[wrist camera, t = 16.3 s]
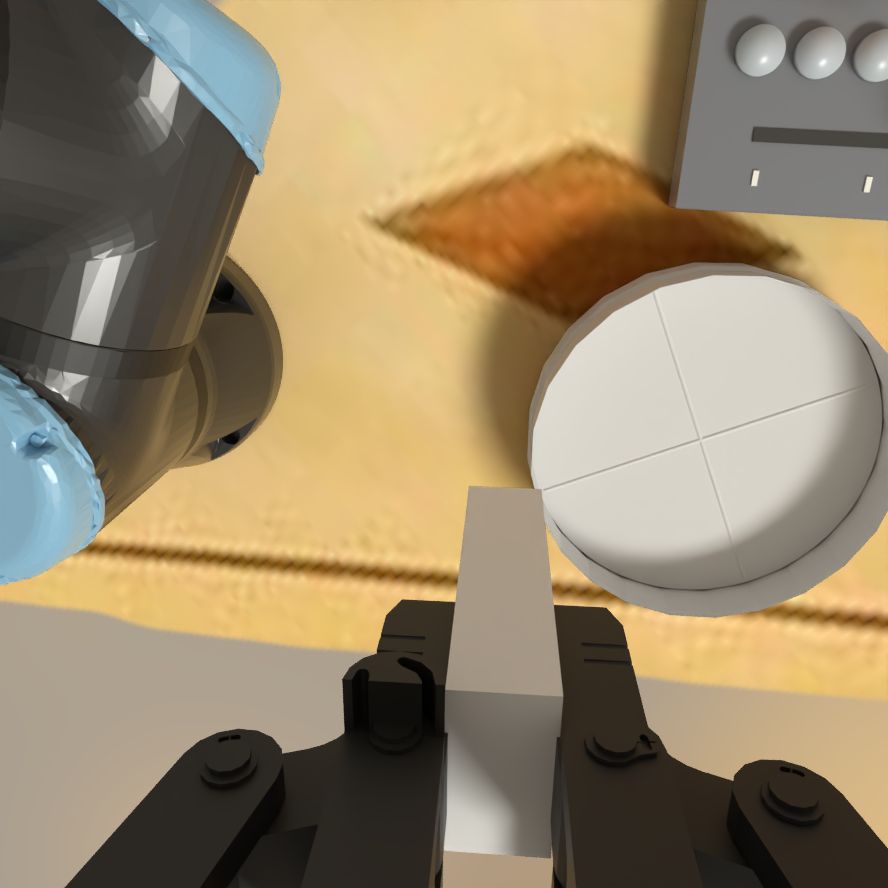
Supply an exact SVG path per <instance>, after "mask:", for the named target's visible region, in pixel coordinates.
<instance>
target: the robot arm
mask: <svg viewBox="0 0 888 888" xmlns="http://www.w3.org/2000/svg"><path fill="white" fill-rule="evenodd" d="M280 92H281V82H280V79H279V75H278V71H277V68H276V65H275V63H274V61H273V59H272V58H271V56H270V55H269V53H268V52H267V50H266V49H265V48H264V47H263V46H262V45H261V43H260V42H259V41H258V40H257V39H255V38H254V37H253V36H252V35H251V34H250V33H249V32H247V31H246V30H245V29H244V28H242V27H241V26H240V25H238V24H237V23H236V22H235V21H233V20H232V19H231V18H229V17H228V16H227V15H226V14H224V13H223V12H222V11H220V10H219V9H218V8H216V7H215V6H214V5H212V4H211V3H209V2H208V1H207V0H0V585H4V584H8V583H10V582H17V581H20V580H23V579H24V580H25V579H30V578H32V577H35V576H37V575H39V574H41V573H43V572H45V571H47V570H48V569H50V568H52V567H53V566H55V565H56V564H58V563H60V562H61V561H63V560H64V559H66V558H68V557H69V556H71V555H73V554H76V553H78V552H79V551H80V550H81V549H84V548H85V547H86V546H88V544H89V543H91V542H92V541H93V540H94V538H95V536H96V535H97V533H98V532H99V531H101V530H102V529H103V528H104V527H105V526H106V525H107V524H108V523H110V522H111V521H112V520H113V519H114V518H115V517H116V516H118V515H119V514H120V513H121V512H122V511H123V510H124V509H126V508H127V507H128V506H129V505H130V504H131V503H132V502H133V501H135V500H136V499H137V498H138V497H139V496H140V495H141V494H143V493H144V492H145V491H146V490H147V489H148V488H149V487H151V486H152V485H153V484H154V483H155V482H156V481H157V480H158V479H160V478H161V477H162V476H163V475H164V474H165V473H166V472H168V471H169V470H170V469H175V468H182V467H189V466H195V465H199V464H203V463H207V462H210V461H212V460H215V459H217V458H219V457H222V456H223V455H225V454H227V453H229V452H231V451H232V450H234V449H235V448H236V447H238V446H239V445H240V444H242V443H243V442H244V441H245V440H246V439H247V438H248V437H249V436H250V435H251V434H252V433H253V432H254V431H255V430H256V429H257V428H258V427H259V426H260V425H261V424H262V422H263V421H264V420H265V418H266V417H267V415H268V414H269V412H270V410H271V409H272V407H273V405H274V402H275V400H276V397H277V395H278V392H279V388H280V384H281V378H282V370H283V353H282V344H281V339H280V334H279V330H278V327H277V324H276V321H275V318H274V316H273V313H272V311H271V309H270V307H269V305H268V303H267V301H266V300H265V298H264V296H263V295H262V293H261V292H260V290H259V289H258V287H257V286H256V285H255V284H254V282H253V281H252V280H251V279H250V278H249V277H248V275H247V274H246V273H245V272H244V271H243V270H242V269H240V268H239V267H238V266H237V265H236V264H235V263H234V262H232V261H231V260H230V259H228V258H227V257H226V254H227V252H228V249H229V246H230V243H231V240H232V238H233V235H234V232H235V229H236V226H237V224H238V221H239V218H240V215H241V212H242V210H243V207H244V204H245V201H246V198H247V196H248V193H249V190H250V187H251V184H252V182H253V179H254V176H255V175H259V176H260V175H261V174H262V172H263V169H264V158H263V153H264V149H265V146H266V143H267V140H268V137H269V133H270V130H271V127H272V124H273V121H274V117H275V114H276V111H277V108H278V105H279V100H280ZM342 682H343V703H344V726H345V732H344V734H342V735H341V736H340V737H338V738H337V739H335V740H333V741H330V742H328V743H326V744H324V745H321V746H317V747H313V748H310V749H305V750H300V751H294V752H289V753H284V754H282V749H281V748H280V747H279V745H278V744H277V743H276V741H275V740H274V739H273V738H272V737H270V736H268V735H266V734H264V733H261V732H259V731H256V730H245V729H235V730H230V731H224V732H219V733H216V734H214V735H212V736H209V737H207V738H205V739H203V740H200V741H199V742H198V743H196V744H195V745H194V746H193V747H191V748H190V749H189V750H188V751H187V752H185V753H184V754H183V755H182V756H181V758H180V759H179V760H178V761H177V762H176V763H175V764H174V765H173V767H172V768H171V769H170V770H169V771H168V772H167V773H166V774H165V776H164V777H163V778H162V779H161V780H160V781H159V782H158V783H157V784H156V786H155V787H154V788H153V789H152V790H151V791H150V792H149V793H148V795H147V796H146V797H145V798H144V799H143V800H142V801H141V802H140V804H139V805H138V806H137V807H136V808H135V809H134V810H133V812H132V813H131V814H130V815H129V816H128V817H127V818H126V819H125V821H124V822H123V823H122V824H121V825H120V826H119V827H118V828H117V829H116V831H115V832H114V833H113V834H112V835H111V836H110V837H109V838H108V840H107V841H106V842H105V843H104V844H103V845H102V846H101V847H100V849H99V850H98V851H97V852H96V853H95V855H93V856H92V857H91V859H90V860H89V861H88V862H87V863H86V864H85V865H84V866H83V868H82V869H81V870H80V871H79V872H78V873H77V874H76V876H75V877H74V878H73V879H72V880H71V881H70V882H69V883H68V884H67V886H66V887H65V888H442V887H443V851H457V852H471V853H485V854H499V855H513V856H526V857H540V858H551V848H552V852H553V873H552V887H551V888H888V848H887V847H886V846H885V845H884V844H883V842H882V841H881V840H880V839H879V837H877V835H876V834H875V833H874V831H873V830H872V829H871V828H870V827H869V825H867V823H866V822H865V821H864V819H863V818H862V817H861V816H860V815H859V814H858V812H857V811H856V810H855V809H854V807H853V806H852V805H851V804H850V803H849V802H848V800H847V799H846V798H845V797H844V795H843V794H842V793H840V791H838V790H837V789H836V788H835V787H834V786H833V785H832V784H831V783H829V781H827V780H826V779H825V778H823V777H822V776H820V775H818V774H816V773H814V772H812V771H811V770H809V769H807V768H805V767H802V766H799V765H796V764H792V763H789V762H786V761H782V760H758V761H755V762H752V763H748V764H745V765H744V766H743V767H742V768H741V769H740V770H739V771H738V772H737V773H736V774H735V775H734V781H731V780H728V779H725V778H721V777H718V776H715V775H712V774H709V773H705V772H702V771H699V770H697V769H694V768H692V767H689V766H687V765H685V764H683V763H682V762H680V761H678V760H676V759H675V758H673V757H671V756H670V755H669V754H668V753H667V751H666V749H665V747H664V745H663V744H662V741H661V739H660V738H659V736H658V735H657V734H655V733H654V732H653V731H652V730H651V729H650V728H649V727H648V725H647V721H646V717H645V713H644V709H643V705H642V701H641V697H640V693H639V689H638V685H637V681H636V677H635V673H634V669H633V666H632V661H631V657H630V653H629V649H628V645H627V641H626V637H625V633H624V629H623V625H622V624H621V623H620V622H619V621H618V620H617V619H616V618H615V617H614V616H613V615H612V613H611V612H610V611H609V610H608V609H607V608H603V607H583V606H563V605H554V604H553V594H552V585H551V575H550V566H549V556H548V547H547V537H546V528H545V518H544V509H543V499H542V490H541V489H531V488H506V487H481V486H469V491H468V500H467V508H466V517H465V525H464V534H463V542H462V551H461V559H460V568H459V577H458V585H457V594H456V602H442V601H422V600H401V601H400V602H399V603H398V604H397V605H396V606H395V607H394V608H393V609H392V610H391V611H390V612H389V613H388V614H387V615H386V618H385V622H384V625H383V629H382V633H381V638H380V640H379V644H378V648H377V654H374V655H371V656H368V657H365V658H363V659H361V660H360V661H359V662H357V663H355V664H354V665H353V666H351V667H350V668H349V670H348V671H347V673H346V674H345V676H344V677H343V679H342Z"/></svg>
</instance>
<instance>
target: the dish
mask: <svg viewBox="0 0 888 888" xmlns="http://www.w3.org/2000/svg"><path fill="white" fill-rule="evenodd" d="M527 460H528V465H529V469H530V473H531V477H532V482H533V486H534V489H541V490H542V499H543V509H544V518H545V524H546V525H547V527H548V529H549V531H550V532H551V534H552V536H553V538H554V539H555V541H556V543H557V545H558V546H559V548H560V550H561V552H562V553H563V554H564V555H565V556H566V557H567V558H568V559H569V560H570V561H571V562H572V563H573V564H574V565H575V566H576V567H577V568H578V569H579V570H580V571H581V572H582V573H583V574H584V575H585V576H586V577H587V578H588V579H589V580H590V581H592V582H593V583H595V584H597V585H599V586H600V587H602V588H604V589H605V590H607V591H609V592H611V593H612V594H614V595H616V596H617V597H619V598H621V599H622V600H624V601H626V602H628V603H631V604H634V605H638V606H641V607H645V608H648V609H651V610H655V611H658V612H662V613H665V614H669V615H680V616H697V617H714V618H716V617H722V616H728V615H734V614H741V613H747V612H753V611H760V610H763V609H765V608H768V607H771V606H773V605H776V604H778V603H781V602H783V601H786V600H788V599H791V598H793V597H796V596H798V595H801V594H803V593H805V592H807V591H808V590H810V589H811V588H813V587H814V586H816V585H817V584H819V583H820V582H822V581H823V580H824V579H826V578H827V577H829V576H830V575H832V574H833V573H835V572H836V571H838V570H839V569H841V568H842V567H844V566H845V565H846V564H847V563H848V561H849V560H850V559H851V558H852V557H853V556H854V555H855V554H856V553H857V552H858V551H859V550H860V549H861V547H862V546H863V545H864V544H865V543H866V542H867V541H868V540H869V539H870V538H871V537H872V536H873V534H874V533H875V532H876V531H877V529H878V527H879V526H880V524H881V522H882V520H883V518H884V516H885V514H886V513H887V511H888V354H887V353H886V351H885V350H884V349H883V348H882V347H881V345H880V344H879V343H878V342H877V341H876V339H875V338H874V337H873V336H872V335H871V333H870V332H869V331H868V330H867V328H866V327H865V326H864V325H863V324H862V322H861V321H860V320H859V319H858V318H857V317H855V316H854V315H852V314H851V313H849V312H848V311H846V310H845V309H843V308H842V307H841V306H839V305H838V304H836V303H835V302H833V301H832V300H830V299H828V298H827V297H825V296H824V295H822V294H821V293H819V292H818V291H816V290H815V289H813V288H812V287H810V286H808V285H807V284H805V283H804V282H802V281H800V280H797V279H794V278H791V277H789V276H785V275H782V274H778V273H775V272H772V271H768V270H765V269H761V268H758V267H755V266H751V265H748V264H744V263H707V262H693V263H689V264H685V265H681V266H677V267H672V268H668V269H664V270H660V271H655V272H651V273H647V274H645V275H643V276H641V277H639V278H637V279H635V280H634V281H632V282H630V283H628V284H626V285H624V286H622V287H620V288H618V289H617V290H615V291H613V292H611V293H609V294H607V295H605V296H603V297H602V298H601V299H600V300H599V301H598V302H597V303H596V304H595V305H593V306H592V307H591V308H590V309H589V310H588V311H587V312H586V313H585V314H583V315H582V316H581V317H580V318H579V319H578V320H577V321H576V322H575V323H573V324H572V325H571V326H570V327H569V328H568V329H567V331H566V332H565V334H564V335H563V337H562V338H561V340H560V341H559V343H558V344H557V346H556V347H555V349H554V350H553V352H552V353H551V355H550V356H549V358H548V359H547V361H546V362H545V364H544V365H543V368H542V371H541V374H540V377H539V380H538V383H537V386H536V389H535V392H534V395H533V398H532V401H531V404H530V412H529V430H528V449H527Z"/></svg>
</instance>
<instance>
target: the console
mask: <svg viewBox="0 0 888 888" xmlns="http://www.w3.org/2000/svg"><path fill="white" fill-rule="evenodd" d="M668 206H669V207H673V208H681V209H698V210H715V211H732V212H749V213H767V214H784V215H801V216H818V217H835V218H852V219H869V220H887V221H888V0H698V3H697V10H696V16H695V23H694V30H693V37H692V44H691V51H690V57H689V64H688V71H687V78H686V85H685V92H684V98H683V105H682V112H681V119H680V126H679V133H678V140H677V146H676V153H675V160H674V167H673V174H672V181H671V187H670V194H669V201H668Z"/></svg>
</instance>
